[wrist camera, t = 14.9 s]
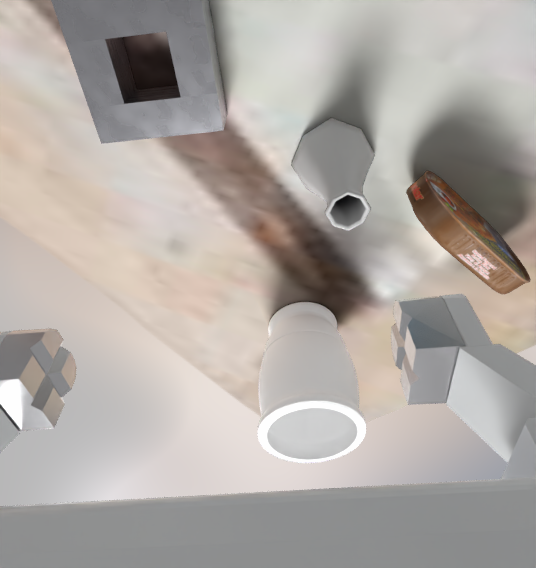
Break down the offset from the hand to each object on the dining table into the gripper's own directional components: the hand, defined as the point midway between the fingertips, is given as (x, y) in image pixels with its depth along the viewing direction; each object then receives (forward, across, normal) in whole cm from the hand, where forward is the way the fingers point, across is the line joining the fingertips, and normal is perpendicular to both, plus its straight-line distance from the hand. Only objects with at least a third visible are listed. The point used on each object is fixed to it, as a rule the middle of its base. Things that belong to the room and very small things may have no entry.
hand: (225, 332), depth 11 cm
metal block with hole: (+31, +8, -1) cm, 32 cm away
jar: (+31, -2, +30) cm, 43 cm away
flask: (+31, -6, +9) cm, 33 cm away
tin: (+31, -18, +16) cm, 40 cm away
